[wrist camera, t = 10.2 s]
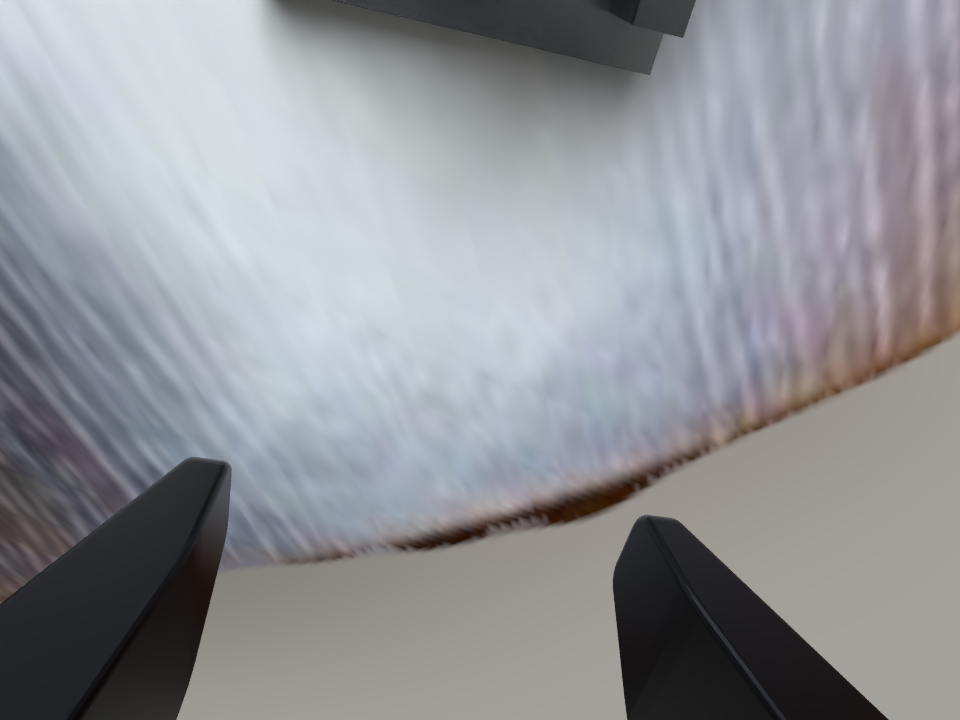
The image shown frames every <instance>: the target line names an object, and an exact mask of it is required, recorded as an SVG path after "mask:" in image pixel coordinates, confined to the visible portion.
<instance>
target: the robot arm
mask: <svg viewBox="0 0 960 720" xmlns="http://www.w3.org/2000/svg"><path fill="white" fill-rule="evenodd" d="M230 488H231V466H230V464H229V463H228V462H226V461H222V460H214V459H206V458H199V457H190V458H188V459H186V460H184V461H183V462H181V463H180V464H179V465H178V466H176V467H175V468H174V469H172V470H171V471H170V472H169V473H167V474H166V475H165V476H163V477H162V478H161V479H160V480H158V481H157V482H156V483H155V484H153V485H152V486H151V487H149V488H148V489H147V490H146V491H144V492H143V493H142V494H140V495H139V496H138V497H137V498H135V499H134V500H133V501H131V502H130V503H129V504H128V505H126V506H125V507H124V508H123V509H121V510H120V511H119V512H117V513H116V514H115V515H114V516H112V517H111V518H110V519H108V520H107V521H106V522H105V523H103V524H102V525H101V526H100V527H98V528H97V529H96V530H94V531H93V532H92V533H91V534H89V535H88V536H87V537H85V538H84V539H83V540H82V541H80V542H79V543H78V544H76V545H75V546H74V547H73V548H71V549H70V550H69V551H68V552H66V553H65V554H64V555H62V556H61V557H60V558H59V559H57V560H56V561H55V562H53V563H52V564H51V565H50V566H48V567H47V568H46V569H45V570H43V571H42V572H41V573H39V574H38V575H37V576H36V577H34V578H33V579H32V580H30V581H29V582H28V583H27V584H25V585H24V586H23V587H21V588H20V589H19V590H18V591H16V592H15V593H14V594H13V595H11V596H10V597H9V598H7V599H6V600H5V601H4V602H2V603H1V604H0V720H176V718H177V716H178V713H179V711H180V708H181V705H182V702H183V699H184V696H185V693H186V690H187V688H188V685H189V682H190V677H191V675H192V671H193V667H194V664H195V660H196V656H197V652H198V648H199V644H200V640H201V636H202V632H203V628H204V624H205V620H206V616H207V612H208V608H209V604H210V599H211V596H212V592H213V588H214V583H215V580H216V576H217V572H218V568H219V563H220V559H221V555H222V551H223V547H224V543H225V538H226V533H227V526H228V515H229V502H230ZM613 592H614V602H615V611H616V621H617V630H618V640H619V650H620V659H621V668H622V679H623V687H624V697H625V705H626V713H627V720H888V719H887V718H886V717H885V716H884V715H883V714H882V713H881V712H880V711H879V710H878V709H877V708H876V707H874V705H872V704H871V703H870V702H869V701H868V700H867V699H866V698H865V697H864V696H863V695H862V694H861V693H860V692H859V691H858V690H856V688H855V687H853V686H852V685H851V684H850V683H849V682H848V681H847V680H846V679H845V678H844V677H843V676H842V675H841V674H840V673H839V672H838V671H836V670H835V669H834V668H833V667H832V666H831V665H830V664H829V663H828V662H827V661H826V660H825V659H824V658H823V657H822V656H821V655H820V654H819V653H817V651H815V650H814V649H813V648H812V647H811V646H810V645H809V644H808V643H807V642H806V641H805V640H804V639H803V638H802V637H801V636H800V635H799V634H798V633H796V632H795V631H794V630H793V629H792V628H791V627H790V626H789V625H788V624H787V623H786V622H785V621H784V620H783V619H782V618H781V617H780V616H778V615H777V614H776V613H775V612H774V611H773V610H772V609H771V608H770V607H769V606H768V605H767V604H766V603H765V602H764V601H763V600H762V599H761V598H760V597H759V596H757V595H756V594H755V593H754V592H753V591H752V590H751V589H750V588H749V587H748V586H747V585H746V584H745V583H743V582H742V581H741V579H739V578H738V577H737V576H736V575H735V574H734V573H733V572H732V571H731V570H730V569H729V568H728V567H727V566H726V565H725V564H724V563H723V562H721V561H720V560H719V559H718V558H717V557H716V556H715V555H714V554H713V553H712V552H711V551H710V550H709V549H708V548H706V546H705V545H704V544H702V542H700V541H699V540H698V539H697V538H696V537H695V536H694V535H693V534H692V533H691V532H690V531H689V530H688V529H687V528H686V527H685V526H683V524H681V523H680V522H679V521H677V520H676V519H673V518H667V517H659V516H651V515H644V516H641V517H639V518H638V519H637V520H636V522H635V523H634V525H633V528H632V530H631V532H630V534H629V536H628V539H627V541H626V543H625V545H624V548H623V550H622V552H621V555H620V557H619V559H618V561H617V564H616V566H615V571H614V576H613Z"/></svg>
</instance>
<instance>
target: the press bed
mask: <svg viewBox="0 0 960 720" xmlns="http://www.w3.org/2000/svg"><path fill="white" fill-rule="evenodd" d="M334 1H338V2H342V3H346V4H350V5H355V6H359V7H363V8H367V9H372V10H376V11H380V12H384V13H389V14H393V15H397V16H401V17H406V18H410V19H414V20H418V21H423V22H427V23H431V24H435V25H439V26H444V27H448V28H452V29H456V30H461V31H465V32H469V33H473V34H478V35H482V36H486V37H490V38H495V39H499V40H503V41H507V42H512V43H516V44H520V45H524V46H528V47H533V48H537V49H541V50H545V51H550V52H554V53H558V54H562V55H567V56H571V57H575V58H579V59H584V60H588V61H592V62H596V63H601V64H605V65H609V66H613V67H617V68H622V69H626V70H630V71H634V72H639V73H643V74H647V75H650V73H651V69H652V66H653V63H654V60H655V57H656V54H657V51H658V48H659V45H660V42H661V39H662V36H663V33H666V34H670V35H674V36H678V37H682V38H683V36H684V33H685V30H686V28H687V25H688V22H689V19H690V16H691V13H692V10H693V7H694V4H695V1H696V0H334Z"/></svg>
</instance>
